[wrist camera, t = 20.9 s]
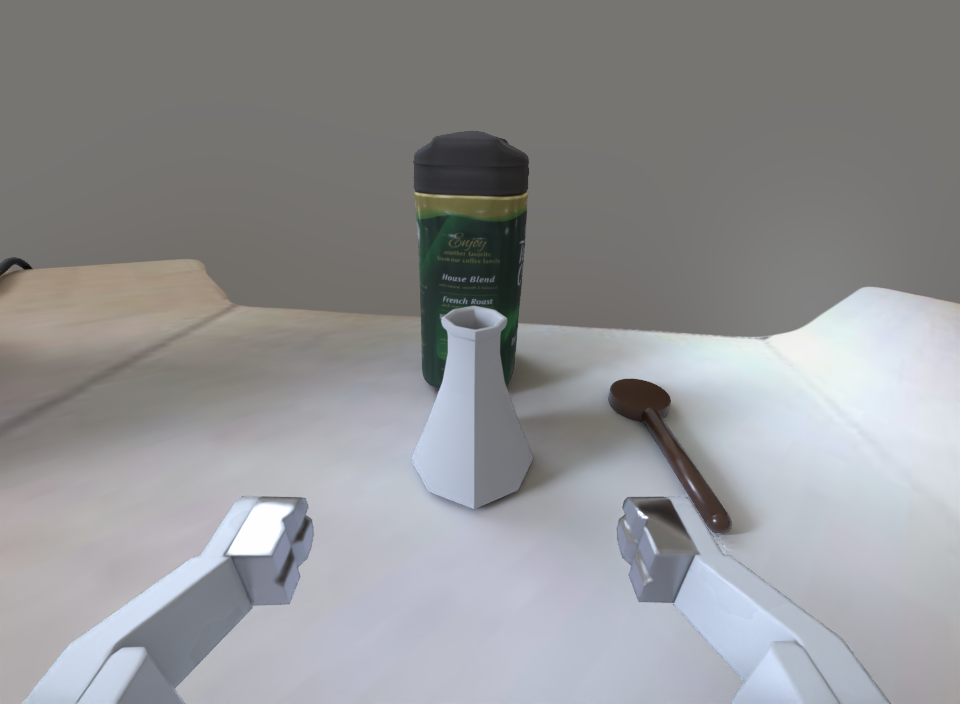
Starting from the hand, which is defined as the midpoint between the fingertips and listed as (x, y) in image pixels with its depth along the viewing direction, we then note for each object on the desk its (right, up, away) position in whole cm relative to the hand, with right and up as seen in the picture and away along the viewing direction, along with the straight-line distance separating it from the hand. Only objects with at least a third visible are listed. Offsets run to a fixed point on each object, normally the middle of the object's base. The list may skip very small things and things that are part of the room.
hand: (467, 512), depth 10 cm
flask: (0, -3, +15) cm, 15 cm away
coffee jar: (0, +2, +25) cm, 26 cm away
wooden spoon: (+13, -2, +17) cm, 21 cm away
